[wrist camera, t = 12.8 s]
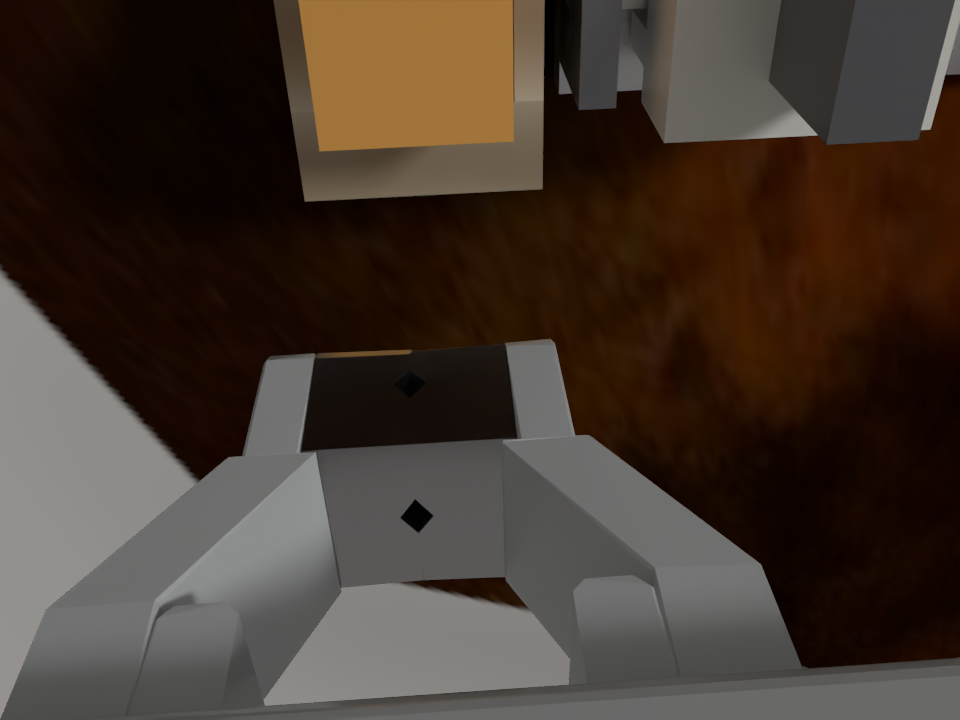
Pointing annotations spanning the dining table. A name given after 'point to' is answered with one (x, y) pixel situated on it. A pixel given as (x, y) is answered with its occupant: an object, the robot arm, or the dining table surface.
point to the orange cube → (409, 72)
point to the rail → (612, 51)
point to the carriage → (793, 67)
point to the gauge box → (422, 164)
